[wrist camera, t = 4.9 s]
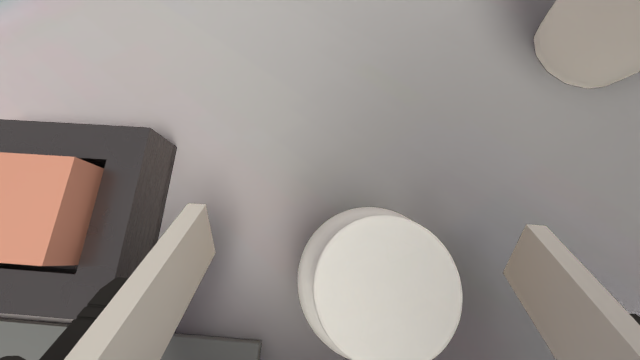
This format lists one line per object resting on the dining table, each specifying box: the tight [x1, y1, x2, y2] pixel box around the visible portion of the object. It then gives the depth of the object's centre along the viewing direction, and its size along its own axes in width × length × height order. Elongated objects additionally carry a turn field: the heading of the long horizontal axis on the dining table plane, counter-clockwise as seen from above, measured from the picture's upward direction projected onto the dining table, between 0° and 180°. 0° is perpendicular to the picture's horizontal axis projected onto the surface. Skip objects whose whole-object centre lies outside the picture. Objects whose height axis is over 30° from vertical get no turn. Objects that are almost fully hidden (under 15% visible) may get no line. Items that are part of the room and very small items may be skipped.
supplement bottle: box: [297, 207, 463, 360], centre depth 12 cm, size 5×5×10 cm
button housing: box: [0, 119, 177, 319], centre depth 17 cm, size 10×10×3 cm
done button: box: [0, 152, 104, 266], centre depth 15 cm, size 5×5×2 cm
